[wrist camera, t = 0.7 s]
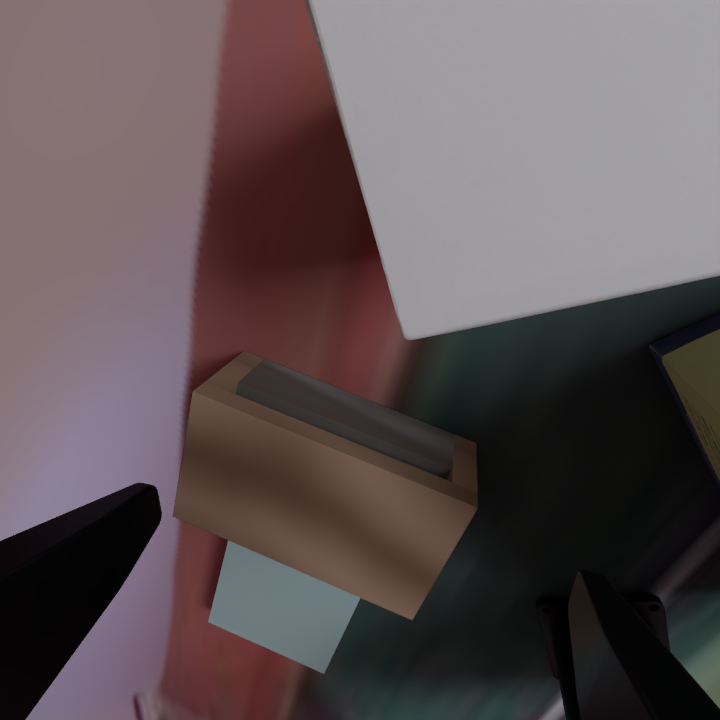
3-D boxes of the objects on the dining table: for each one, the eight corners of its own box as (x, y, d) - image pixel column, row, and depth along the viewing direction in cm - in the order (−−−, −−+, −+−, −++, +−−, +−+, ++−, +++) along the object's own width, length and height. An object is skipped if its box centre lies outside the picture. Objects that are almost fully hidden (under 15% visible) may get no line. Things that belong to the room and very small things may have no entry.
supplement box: (434, 249, 20) (388, 352, 8) (393, 66, 17) (252, -132, 6) (616, 203, 18) (885, 257, 6) (597, -16, 15) (972, -567, 4)
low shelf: (421, 544, 27) (412, 620, 22) (221, 460, 28) (172, 516, 23) (476, 442, 23) (478, 507, 19) (244, 350, 24) (192, 391, 20)
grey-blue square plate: (332, 643, 33) (324, 673, 31) (223, 595, 34) (208, 621, 32) (374, 555, 29) (367, 584, 27) (247, 502, 29) (231, 526, 27)
